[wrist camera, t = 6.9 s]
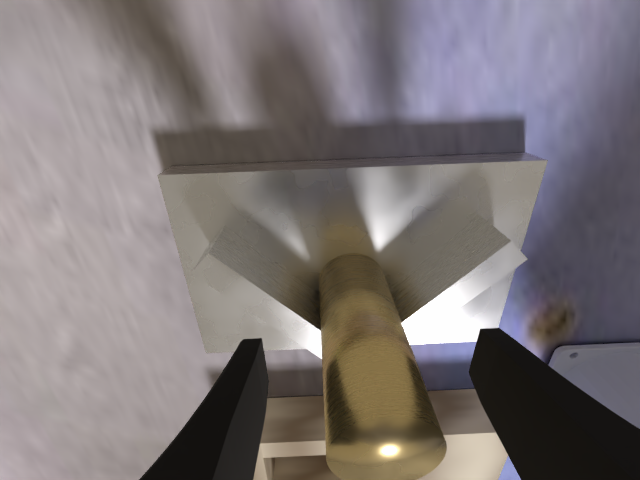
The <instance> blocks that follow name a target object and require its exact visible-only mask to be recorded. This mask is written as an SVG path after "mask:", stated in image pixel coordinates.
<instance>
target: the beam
mask: <svg viewBox="0 0 640 480" xmlns="http://www.w3.org/2000/svg"><path fill="white" fill-rule="evenodd" d="M427 392H428V394H429V397H430V400H431V403H432V405H433V408H434V411H435V413H436V416H437V419H438V421H439V424H440V427H441V429H442V432H443V435H444V438H445V440H446V444H447V451H446V454H445V457H444V459H443V460H442V462H441V463H440V464H439V465H438V466H437V467H436V468H435V469H434V470H433V471H432V472H430V473H428V474H427V475H425V476H423V477H421V478H419V479H417V480H498V478H499V476H500V473H501V471H502V469H503V466H504V464H505V461H506V459H507V457H508V454H507V452H506V450H505V448H504V446H503V444H502V443H501V441H500V439H499V437H498V435H497V433H496V431H495V430H494V428H493V426H492V424H491V422H490V420H489V418H488V416H487V414H486V412H485V410H484V409H483V407H482V405H481V402H480V400H479V398H478V395H477V393H476V390H475V389H460V390H438V391H427ZM253 480H342V479H340V478H339V477H337V476H336V475H335V474H334V473H333V472H332V471H331V470H330V469H329V467H328V465H327V461H326V443H325V418H324V396H304V397H282V398H267V406H266V415H265V420H264V426H263V431H262V436H261V442H260V447H259V452H258V457H257V463H256V468H255V473H254V478H253Z"/></svg>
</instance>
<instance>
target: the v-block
mask: <svg viewBox="0 0 640 480" xmlns="http://www.w3.org/2000/svg"><path fill="white" fill-rule="evenodd" d="M547 161H548V160H546V159H543V158H540V157H537V156H534V155H531V154H529V153H500V154H474V155H448V156H422V157H395V158H369V159H343V160H317V161H291V162H265V163H239V164H213V165H187V166H171V167H170V168H168V169H166V170H165V171H163V172H162V173H160V174H159V175H157V176H158V179H159V183H160V187H161V190H162V194H163V198H164V201H165V205H166V209H167V212H168V216H169V220H170V223H171V227H172V231H173V234H174V238H175V242H176V245H177V249H178V253H179V256H180V260H181V264H182V267H183V271H184V275H185V278H186V282H187V286H188V289H189V293H190V297H191V300H192V304H193V307H194V311H195V315H196V318H197V322H198V326H199V329H200V333H201V337H202V340H203V344H204V348H205V351H206V353H221V352H235V350H236V349H237V347H238V345H239V343H240V342H241V341H242V340H243V339H253V338H262V342H263V349H264V351H267V350H290V349H307V350H309V351H310V352H312V353H313V354H315V355H317V356H318V357H320V358H321V359H322V345H321V320H320V296H319V277H320V274H321V271H322V270H323V268H324V267H325V265H326V264H327V263H328V262H330V261H331V260H332V259H334V258H336V257H338V256H341V255H344V254H349V253H357V254H363V255H366V256H369V257H371V258H372V259H374V260H375V261H376V262H377V263H378V264H379V265H380V267H381V268H382V271H383V273H384V276H385V278H386V281H387V284H388V287H389V289H390V292H391V295H392V297H393V300H394V303H395V305H396V308H397V311H398V314H399V316H400V319H401V322H402V324H403V327H404V330H405V332H406V335H407V338H408V340H409V343H410V344H428V343H451V342H474V341H477V339H478V335H479V331H480V329H485V328H498V326H499V323H500V319H501V316H502V312H503V309H504V306H505V302H506V299H507V296H508V292H509V289H510V286H511V282H512V279H513V275H514V272H515V269H516V268H517V267H518V266H519V265H521V264H522V263H524V262H525V261H526V260H528V259H527V258H526V257H525V256H524V254H523V253H522V252H521V249H522V245H523V242H524V239H525V235H526V232H527V228H528V225H529V222H530V218H531V215H532V212H533V208H534V205H535V202H536V198H537V195H538V191H539V188H540V185H541V181H542V178H543V175H544V171H545V168H546V165H547Z"/></svg>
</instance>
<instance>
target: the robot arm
mask: <svg viewBox="0 0 640 480" xmlns="http://www.w3.org/2000/svg"><path fill="white" fill-rule="evenodd" d="M469 374H470V377H471V379H472V382H473V385H474V388H475V390H476V393H477V395H478V398H479V400H480V402H481V405H482V407H483V409H484V410H485V412H486V414H487V416H488V418H489V420H490V422H491V424H492V426H493V428H494V430H495V431H496V433H497V435H498V437H499V439H500V441H501V443H502V444H503V446H504V448H505V450H506V452H507V454H508V456H509V458H510V459H511V461H512V463H513V465H514V467H515V469H516V471H517V473H518V474H519V476H520V478H521V480H640V342H638V343H615V344H592V345H569V346H560V347H558V348H557V349H556V350H555V351H554V353H553V356H552V358H551V360H550V363H549V365H547V364H546V363H544V362H543V361H542V360H541V359H539V358H538V357H537V356H535V355H534V354H533V353H531V352H530V351H529V350H527V349H526V348H525V347H524V346H522V345H521V344H520V343H518V342H517V341H516V340H514V339H513V338H512V337H510V336H509V335H508V334H506V333H505V332H504V331H502V330H501V329H499V328H485V329H480V331H479V335H478V339H477V343H476V347H475V350H474V354H473V358H472V362H471V365H470V369H469ZM268 382H269V381H268V374H267V368H266V361H265V355H264V349H263V342H262V338H253V339H243V340H242V341H241V342H240V343H239V345H238V347H237V349H236V350H235V352H234V354H233V356H232V357H231V359H230V361H229V362H228V364H227V365H226V367H225V369H224V370H223V372H222V373H221V375H220V377H219V378H218V380H217V381H216V383H215V384H214V385H213V387H212V388H211V390H210V391H209V393H208V394H207V396H206V397H205V399H204V400H203V402H202V403H201V404H200V406H199V407H198V408H197V410H196V411H195V412H194V414H193V415H192V417H191V418H190V419H189V421H188V422H187V423H186V425H185V426H184V427H183V429H182V430H181V431H180V432H179V434H178V435H177V436H176V437H175V439H174V440H173V441H172V442H171V444H170V445H169V446H168V447H167V449H166V450H165V451H164V452H163V453H162V454H161V456H160V457H159V458H158V459H157V460H156V462H155V463H154V464H153V465H152V466H151V467H150V468H149V469H148V471H147V472H146V473H145V474H144V475H143V476H142V477H141V478H140V479H139V480H253V478H254V473H255V468H256V463H257V457H258V452H259V447H260V442H261V436H262V431H263V426H264V420H265V415H266V406H267V394H268Z"/></svg>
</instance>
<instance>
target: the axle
mask: <svg viewBox="0 0 640 480" xmlns="http://www.w3.org/2000/svg"><path fill="white" fill-rule="evenodd" d="M319 296H320V320H321V345H322V369H323V394H324V418H325V443H326V461H327V465H328V467H329V469H330V470H331V471H332V472H333V473H334V474H335V475H336V476H337V477H339V478H340V479H342V480H417V479H419V478H421V477H423V476H425V475H427V474H428V473H430V472H432V471H433V470H434V469H435V468H436V467H437V466H438V465H439V464H440V463H441V462H442V460H443V459H444V457H445V454H446V451H447V444H446V440H445V438H444V435H443V432H442V429H441V427H440V424H439V421H438V419H437V416H436V413H435V411H434V408H433V405H432V403H431V400H430V397H429V394H428V392H427V389H426V386H425V384H424V381H423V378H422V376H421V373H420V370H419V367H418V365H417V362H416V359H415V357H414V354H413V351H412V349H411V346H410V343H409V340H408V338H407V335H406V332H405V330H404V327H403V324H402V322H401V319H400V316H399V314H398V311H397V308H396V305H395V303H394V300H393V297H392V295H391V292H390V289H389V287H388V284H387V281H386V278H385V276H384V273H383V271H382V268H381V267H380V265H379V264H378V263H377V262H376V261H375V260H374V259H372V258H371V257H369V256H366V255H363V254H357V253H349V254H344V255H341V256H338V257H336V258H334V259H332V260H331V261H330V262H328V263H327V264H326V265H325V267H324V268H323V270H322V271H321V274H320V277H319Z"/></svg>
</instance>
